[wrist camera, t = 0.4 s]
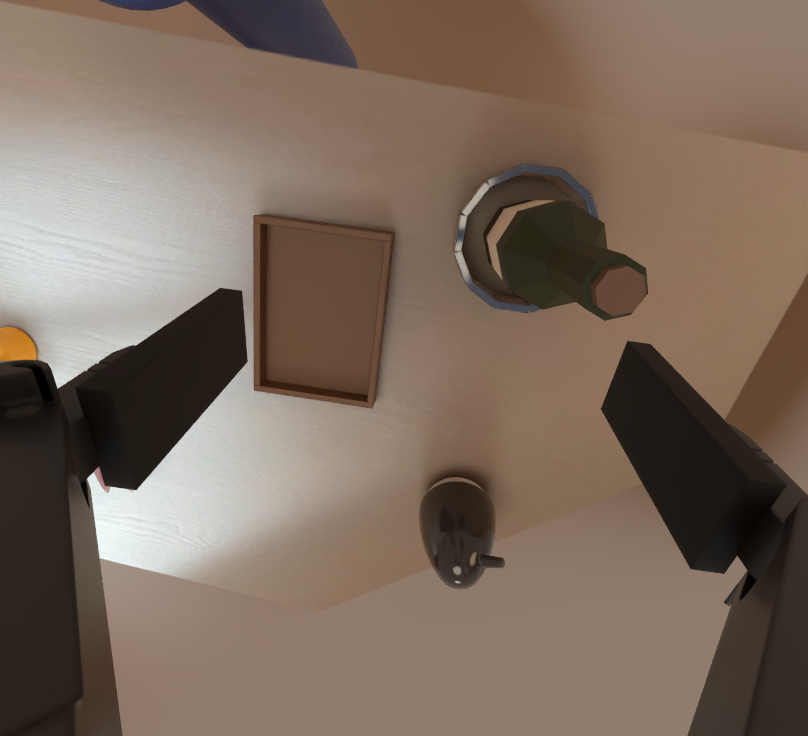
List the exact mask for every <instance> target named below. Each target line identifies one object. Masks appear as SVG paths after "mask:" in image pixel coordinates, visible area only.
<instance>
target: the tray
mask: <svg viewBox="0 0 808 736" xmlns="http://www.w3.org/2000/svg"><path fill="white" fill-rule="evenodd" d="M394 234H395V233H393V232H385V231H378V230H371V229H364V228H357V227H350V226H342V225H335V224H328V223H321V222H314V221H307V220H299V219H292V218H285V217H278V216H271V215H264V214H261V215H254V391H261V392H268V393H274V394H281V395H287V396H294V397H301V398H307V399H314V400H321V401H327V402H334V403H340V404H347V405H354V406H360V407H367V408H373V406H374V403H375V400H376V392H377V383H378V374H379V365H380V357H381V348H382V339H383V330H384V322H385V313H386V304H387V295H388V286H389V278H390V269H391V260H392V251H393V242H394Z"/></svg>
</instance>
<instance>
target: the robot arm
mask: <svg viewBox="0 0 808 736" xmlns="http://www.w3.org/2000/svg"><path fill="white" fill-rule="evenodd" d="M247 362H248V361H247V348H246V335H245V323H244V310H243V297H242V291H239V290H231V289H224V288H219V289H218V290H216V291H215V292H214V293H212V294H211V295H209V296H208V297H206V298H205V299H203V300H202V301H200V302H199V303H198V304H196V305H195V306H193V307H192V308H190V309H189V310H187V311H186V312H184V313H183V314H181V315H180V316H179V317H177V318H176V319H174V320H173V321H171V322H170V323H168V324H167V325H165V326H164V327H163V328H161V329H160V330H158V331H157V332H155V333H154V334H152V335H151V336H149V337H148V338H147V339H145V340H144V341H142V342H141V343H139V344H138V345H136V346H134V345H132V346H129V347H126V348H124V349H121V350H118V351H116V352H113V353H111V354H110V355H108V356H107V357H105V358H104V359H102V360H101V361H99V364H95V365H93V366H92V367H90V368H89V369H88V371H84V372H83V373H81V374H80V375H78V376H77V377H75V378H74V379H72V380H71V381H69V382H67V383H66V384H64V385H63V386H61V387H60V388H58V389H57V386H56V383H55V380H54V377H53V374H52V371H51V368H50V366H49V365H48V363H45V362H42V361H39V360H27V359H26V360H14V361H8V362H3V363H0V736H122V729H121V722H120V713H119V706H118V698H117V690H116V682H115V675H114V667H113V660H112V651H111V644H110V637H109V629H108V621H107V613H106V605H105V598H104V590H103V582H102V575H101V567H100V559H99V551H98V544H97V536H96V528H95V520H94V513H93V505H92V497H91V490H90V486H89V483H88V480H87V478H88V477H89V476H90V475H91V474H92V473H93V472H94V471H95V470H96V469H97V468H98V467H99V468H100V471H101V475H102V478H103V481H104V484H105V486H110V487H118V488H125V489H132V490H137V489H138V488H139V486H140V485H141V484H142V483H143V482H144V481H145V479H146V478H147V477H148V476H149V475H150V474H151V473H152V471H153V470H154V469H155V468H156V467H157V466H158V464H159V463H160V462H161V461H162V460H163V459H164V458H165V456H166V455H167V454H168V453H169V452H170V451H171V449H172V448H173V447H174V446H175V445H176V444H177V443H178V441H179V440H180V439H181V438H182V437H183V436H184V434H185V433H186V432H187V431H188V430H189V429H190V428H191V426H192V425H193V424H194V423H195V422H196V421H197V419H198V418H199V417H200V416H201V415H202V414H203V413H204V411H205V410H206V409H207V408H208V407H209V406H210V404H211V403H212V402H213V401H214V400H215V399H216V398H217V396H218V395H219V394H220V393H221V392H222V391H223V389H224V388H225V387H226V386H227V385H228V384H229V383H230V381H231V380H232V379H233V378H234V377H235V376H236V374H237V373H238V372H239V371H240V370H241V369H242V368H243V366H244V365H245V364H246V363H247ZM601 410H602V412H603V414H604V416H605V417H606V419H607V421H608V423H609V424H610V426H611V428H612V430H613V432H614V433H615V435H616V437H617V439H618V440H619V442H620V444H621V446H622V448H623V449H624V451H625V453H626V455H627V457H628V458H629V460H630V462H631V464H632V465H633V467H634V469H635V471H636V473H637V474H638V476H639V478H640V480H641V481H642V483H643V485H644V487H645V489H646V490H647V492H648V493H649V496H650V497H651V499H652V501H653V503H654V505H655V506H656V508H657V510H658V512H659V513H660V515H661V517H662V519H663V521H664V522H665V524H666V526H667V527H668V529H669V531H670V533H671V535H672V536H673V538H674V540H675V542H676V544H677V545H678V547H679V549H680V551H681V553H682V554H683V556H684V558H685V560H686V562H687V563H688V565H689V567H690V569H694V570H701V571H708V572H715V573H722V574H724V573H725V572H726V571H727V569H728V568H729V566H730V565H731V563H732V562H733V561H734V559H735V558H736V556H738V557H739V558H740V560H741V561H742V563H743V564H744V566H745V567H746V569H747V570H748V571H747V572H746V573H745V575H744V576H743V577H742V579H741V580H740V581H739V583H738V584H737V585H736V587H735V588H734V589H733V591H732V592H731V594H730V595H729V596H728V597H727V599H726V600H725V601H724V603H725V604H727V605H728V606H730V605H731V604H732V605H731V608H730V611H729V614H728V617H727V620H726V623H725V626H724V629H723V632H722V635H721V638H720V641H719V644H718V647H717V649H716V653H715V655H714V658H713V661H712V664H711V667H710V670H709V673H708V676H707V679H706V682H705V685H704V689H703V691H702V694H701V698H700V700H699V703H698V706H697V709H696V712H695V715H694V718H693V721H692V724H691V727H690V730H689V733H688V736H808V495H807V494H806V493H805V492H804V491H803V490H802V489H801V488H800V487H799V486H798V485H797V484H796V483H795V482H794V481H793V480H792V479H791V478H790V477H789V476H788V475H787V474H786V473H785V472H784V471H783V470H782V469H781V468H780V467H779V466H778V465H777V464H774V463H773V460H772V459H771V458H770V457H769V456H768V455H767V454H766V453H764V452H762V449H761V448H760V447H759V446H758V445H757V444H756V443H755V442H754V441H753V440H752V439H751V438H750V437H749V436H747V435H746V434H744V433H743V432H741V431H740V430H738V429H737V428H735V427H734V426H732V425H731V424H727V423H726V422H725V420H724V419H723V418H722V417H721V416H720V415H719V414H718V413H717V412H716V411H715V410H714V409H713V408H712V407H711V406H710V405H709V404H708V403H707V402H706V401H705V400H704V399H703V398H702V397H701V396H700V395H699V394H698V393H697V392H696V391H695V390H694V388H693V387H692V386H691V385H690V384H689V383H688V382H687V381H686V380H685V379H684V378H683V377H682V376H681V375H680V374H679V373H678V372H677V371H676V370H675V369H674V368H673V367H672V366H671V365H670V364H669V363H668V362H667V361H666V360H665V359H664V358H663V357H662V355H661V354H660V353H659V352H658V351H657V350H656V349H655V348H654V347H653V346H652V345H651V344H646V343H638V342H630V341H627V344H626V346H625V349H624V351H623V354H622V356H621V359H620V361H619V364H618V367H617V369H616V372H615V374H614V377H613V379H612V382H611V385H610V387H609V390H608V392H607V395H606V397H605V400H604V402H603V405H602V408H601Z"/></svg>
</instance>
